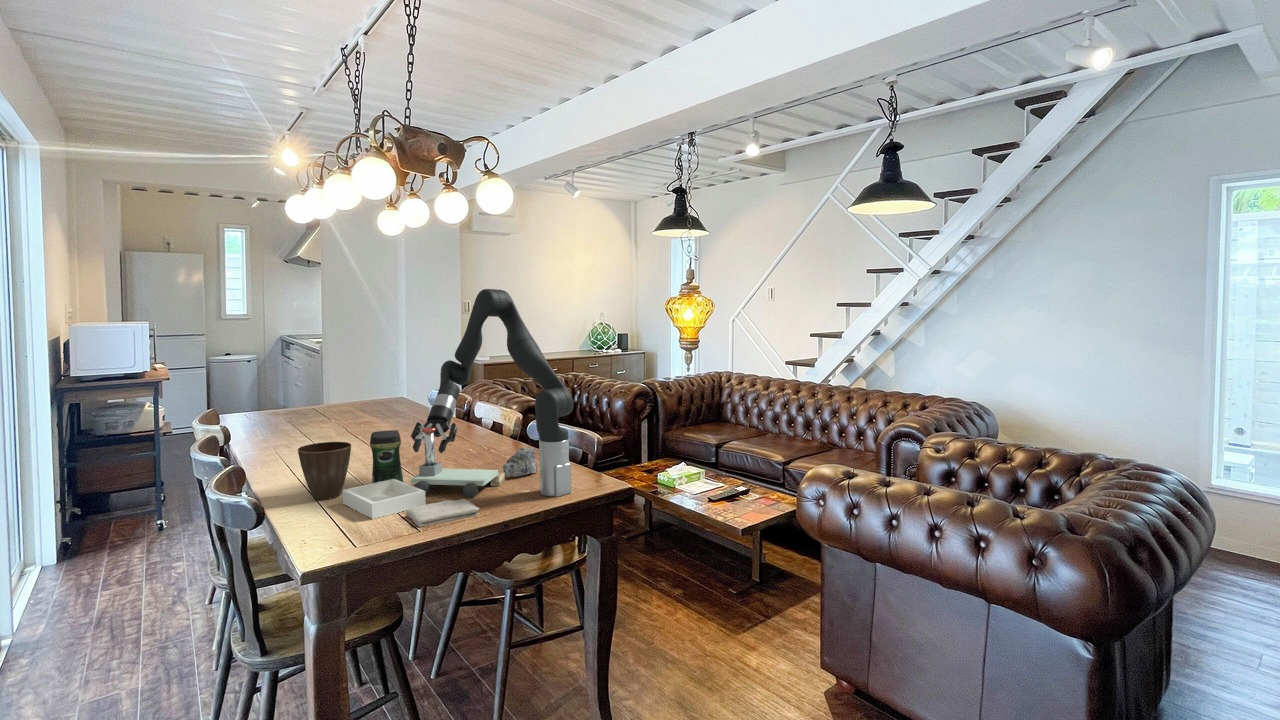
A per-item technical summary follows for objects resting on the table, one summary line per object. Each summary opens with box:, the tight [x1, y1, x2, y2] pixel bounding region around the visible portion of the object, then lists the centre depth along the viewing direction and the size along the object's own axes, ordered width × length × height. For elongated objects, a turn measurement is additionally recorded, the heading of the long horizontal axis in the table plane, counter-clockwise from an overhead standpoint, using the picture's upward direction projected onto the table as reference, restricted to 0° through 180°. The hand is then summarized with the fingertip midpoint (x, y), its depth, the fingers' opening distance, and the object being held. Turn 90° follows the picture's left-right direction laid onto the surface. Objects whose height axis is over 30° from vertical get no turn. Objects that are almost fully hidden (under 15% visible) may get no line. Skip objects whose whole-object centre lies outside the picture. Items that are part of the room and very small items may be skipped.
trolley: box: [410, 462, 499, 499], centre depth 199 cm, size 24×16×8 cm, turn 83°
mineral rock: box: [502, 446, 538, 478], centre depth 216 cm, size 13×11×10 cm
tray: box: [342, 479, 427, 520], centre depth 184 cm, size 20×16×4 cm
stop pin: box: [422, 427, 436, 466], centre depth 200 cm, size 4×4×15 cm
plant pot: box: [297, 441, 352, 500], centre depth 192 cm, size 15×15×16 cm
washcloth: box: [405, 498, 480, 528], centre depth 174 cm, size 12×18×3 cm, turn 126°
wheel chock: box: [490, 471, 506, 487], centre depth 205 cm, size 3×5×3 cm, turn 173°
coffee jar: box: [369, 429, 404, 484], centre depth 203 cm, size 10×8×19 cm
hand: (427, 451), depth 198 cm, fingers open, 8 cm apart
